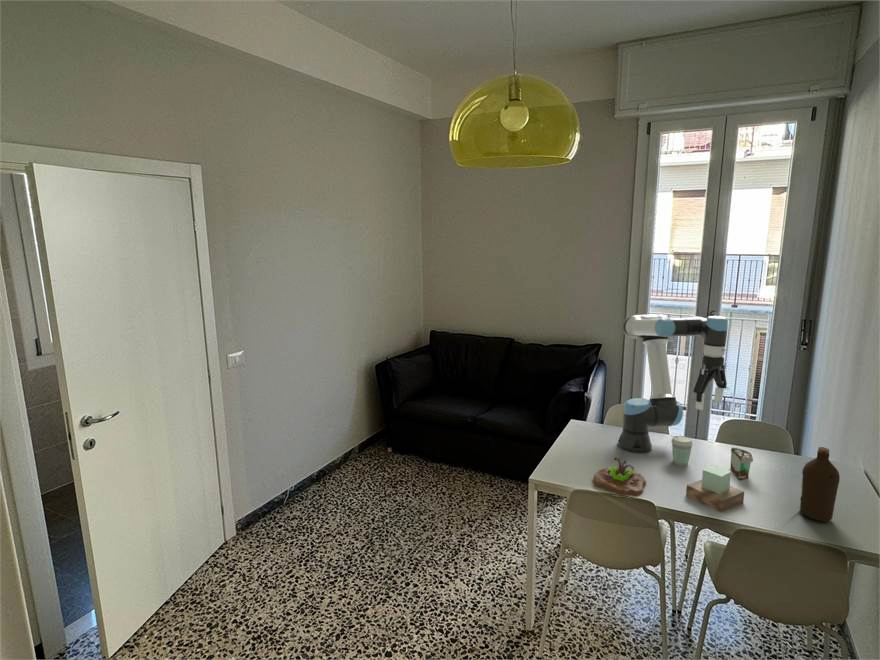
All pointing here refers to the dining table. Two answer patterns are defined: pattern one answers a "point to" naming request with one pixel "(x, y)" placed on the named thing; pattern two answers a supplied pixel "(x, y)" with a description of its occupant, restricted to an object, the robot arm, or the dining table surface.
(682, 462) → the coffee cup
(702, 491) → the walnut block
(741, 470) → the food container
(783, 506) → the dining table surface
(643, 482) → the plant
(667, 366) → the robot arm
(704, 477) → the sage cube
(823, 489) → the brown bottle
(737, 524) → the dining table surface
